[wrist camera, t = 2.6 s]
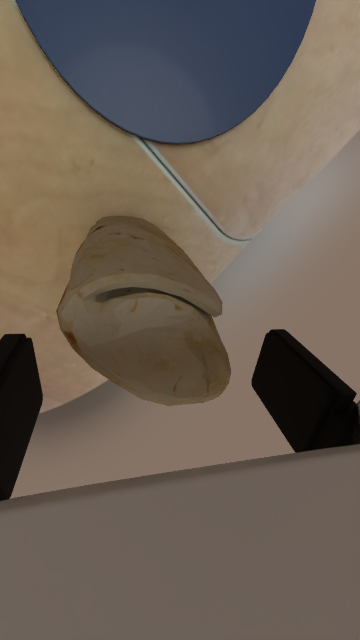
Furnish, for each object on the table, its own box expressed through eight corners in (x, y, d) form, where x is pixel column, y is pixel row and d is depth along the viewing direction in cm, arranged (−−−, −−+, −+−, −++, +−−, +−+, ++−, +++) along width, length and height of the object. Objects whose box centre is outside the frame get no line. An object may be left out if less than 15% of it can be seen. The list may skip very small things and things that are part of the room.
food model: (79, 243, 26) (-3, 369, 9) (118, 188, 24) (111, 210, 7) (153, 296, 30) (196, 448, 13) (190, 252, 29) (294, 361, 12)
